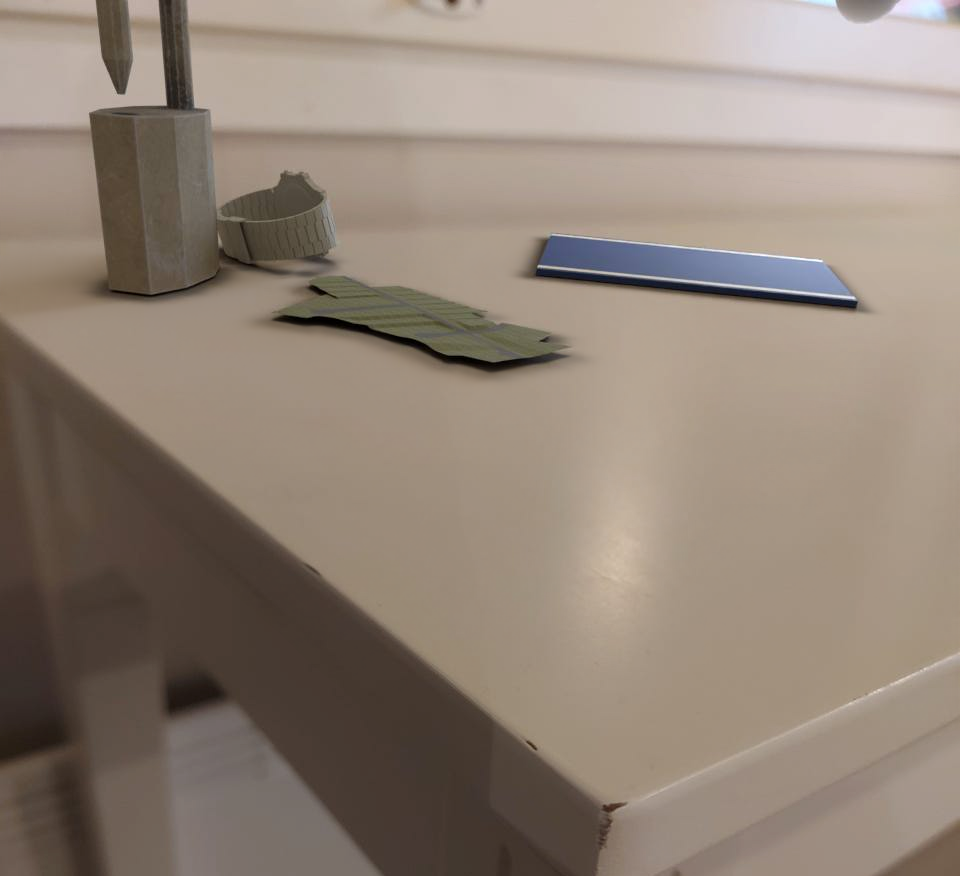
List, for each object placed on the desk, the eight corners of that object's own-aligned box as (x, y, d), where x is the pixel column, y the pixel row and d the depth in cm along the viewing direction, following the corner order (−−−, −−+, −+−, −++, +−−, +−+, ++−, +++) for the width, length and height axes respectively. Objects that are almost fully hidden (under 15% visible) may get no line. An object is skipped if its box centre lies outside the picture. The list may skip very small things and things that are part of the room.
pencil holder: (95, 288, 52) (52, -60, 45) (169, 261, 59) (144, -45, 51) (165, 298, 52) (134, -54, 44) (232, 269, 59) (216, -39, 51)
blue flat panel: (820, 264, 74) (821, 259, 74) (856, 307, 62) (858, 300, 62) (550, 238, 75) (551, 232, 75) (535, 275, 64) (536, 268, 63)
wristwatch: (361, 268, 61) (362, 179, 59) (273, 278, 57) (270, 183, 55) (276, 241, 67) (274, 158, 64) (191, 248, 63) (185, 160, 60)
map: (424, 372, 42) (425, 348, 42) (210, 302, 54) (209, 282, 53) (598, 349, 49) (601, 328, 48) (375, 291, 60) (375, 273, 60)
